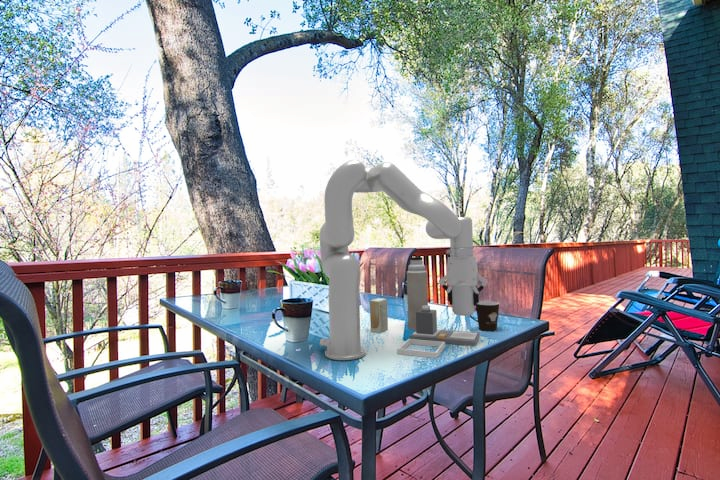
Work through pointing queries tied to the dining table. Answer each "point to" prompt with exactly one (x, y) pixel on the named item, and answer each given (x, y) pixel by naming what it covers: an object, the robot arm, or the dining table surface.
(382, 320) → the skincare box
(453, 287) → the can
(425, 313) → the plug block
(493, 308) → the coffee mug
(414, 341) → the tray
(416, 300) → the thermos bottle
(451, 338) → the grey flat piece
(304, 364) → the dining table surface
